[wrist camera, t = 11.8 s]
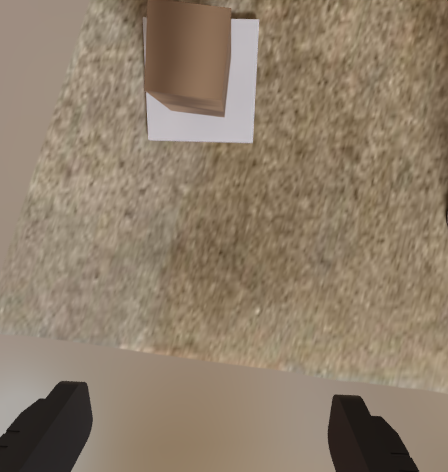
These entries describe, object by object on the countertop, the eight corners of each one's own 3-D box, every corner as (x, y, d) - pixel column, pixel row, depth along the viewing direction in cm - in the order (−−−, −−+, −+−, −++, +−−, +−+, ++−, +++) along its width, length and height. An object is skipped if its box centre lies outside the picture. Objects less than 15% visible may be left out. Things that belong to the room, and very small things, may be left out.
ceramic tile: (258, 23, 29) (259, 19, 28) (252, 143, 33) (252, 142, 32) (145, 21, 30) (142, 17, 29) (150, 140, 33) (148, 140, 32)
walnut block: (231, 56, 29) (231, 8, 20) (224, 117, 31) (221, 99, 21) (174, 49, 29) (147, -3, 20) (171, 110, 31) (144, 90, 21)
